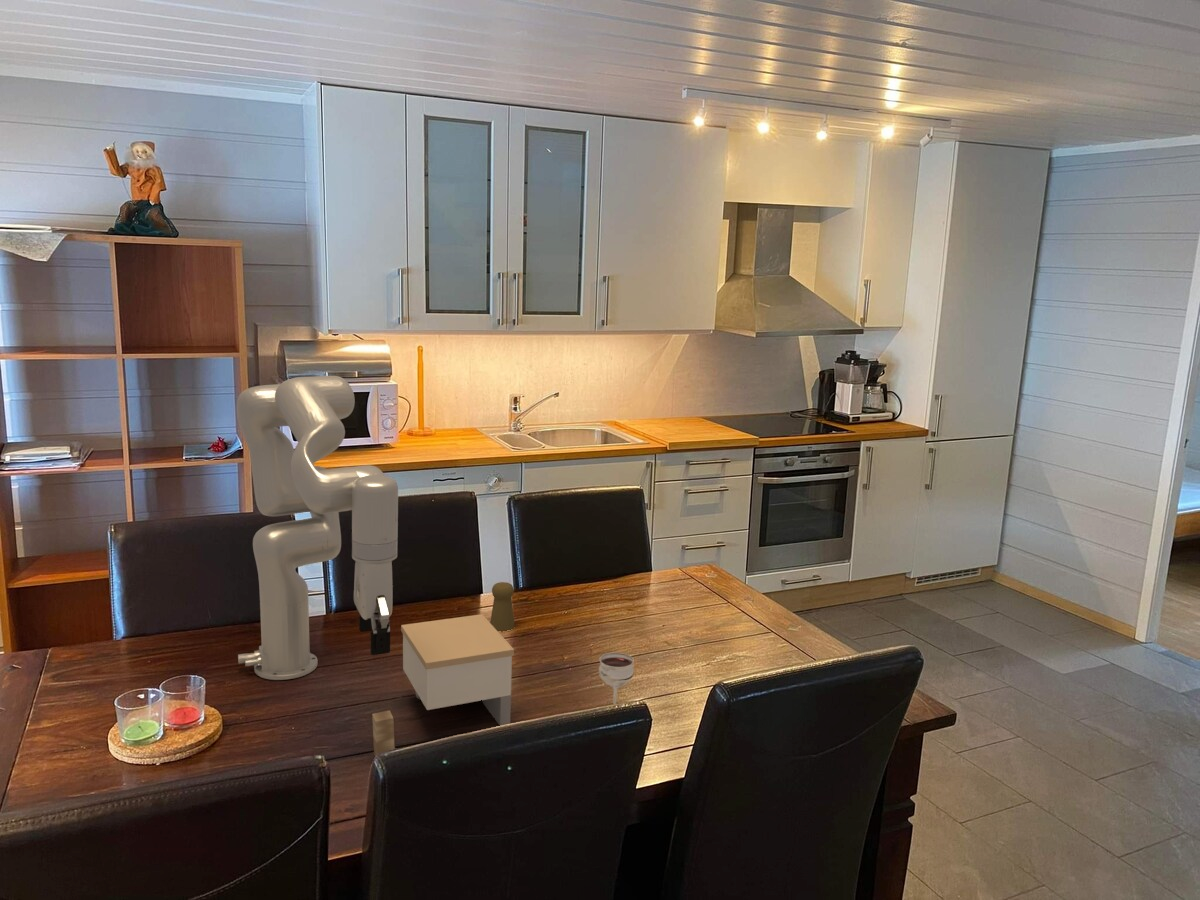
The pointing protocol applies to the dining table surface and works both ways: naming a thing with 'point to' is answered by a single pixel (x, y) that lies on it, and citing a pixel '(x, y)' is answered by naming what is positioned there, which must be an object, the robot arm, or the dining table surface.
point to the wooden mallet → (383, 732)
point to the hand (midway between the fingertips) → (374, 641)
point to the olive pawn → (502, 607)
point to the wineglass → (616, 670)
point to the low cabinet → (459, 664)
